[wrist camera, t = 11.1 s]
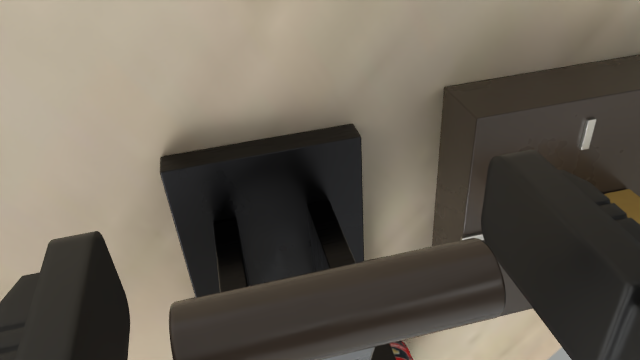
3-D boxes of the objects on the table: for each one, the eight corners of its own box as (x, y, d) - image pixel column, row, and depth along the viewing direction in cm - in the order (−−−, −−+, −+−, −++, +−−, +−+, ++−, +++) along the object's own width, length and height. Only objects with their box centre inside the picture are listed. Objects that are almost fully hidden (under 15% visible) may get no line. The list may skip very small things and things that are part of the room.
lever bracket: (160, 156, 21) (151, 431, 11) (353, 123, 22) (490, 347, 13) (206, 323, 27) (227, 599, 17) (358, 289, 28) (455, 530, 18)
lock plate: (441, 86, 22) (476, 121, 20) (652, 51, 24) (710, 79, 21) (426, 286, 29) (451, 331, 27) (592, 249, 31) (629, 288, 28)
